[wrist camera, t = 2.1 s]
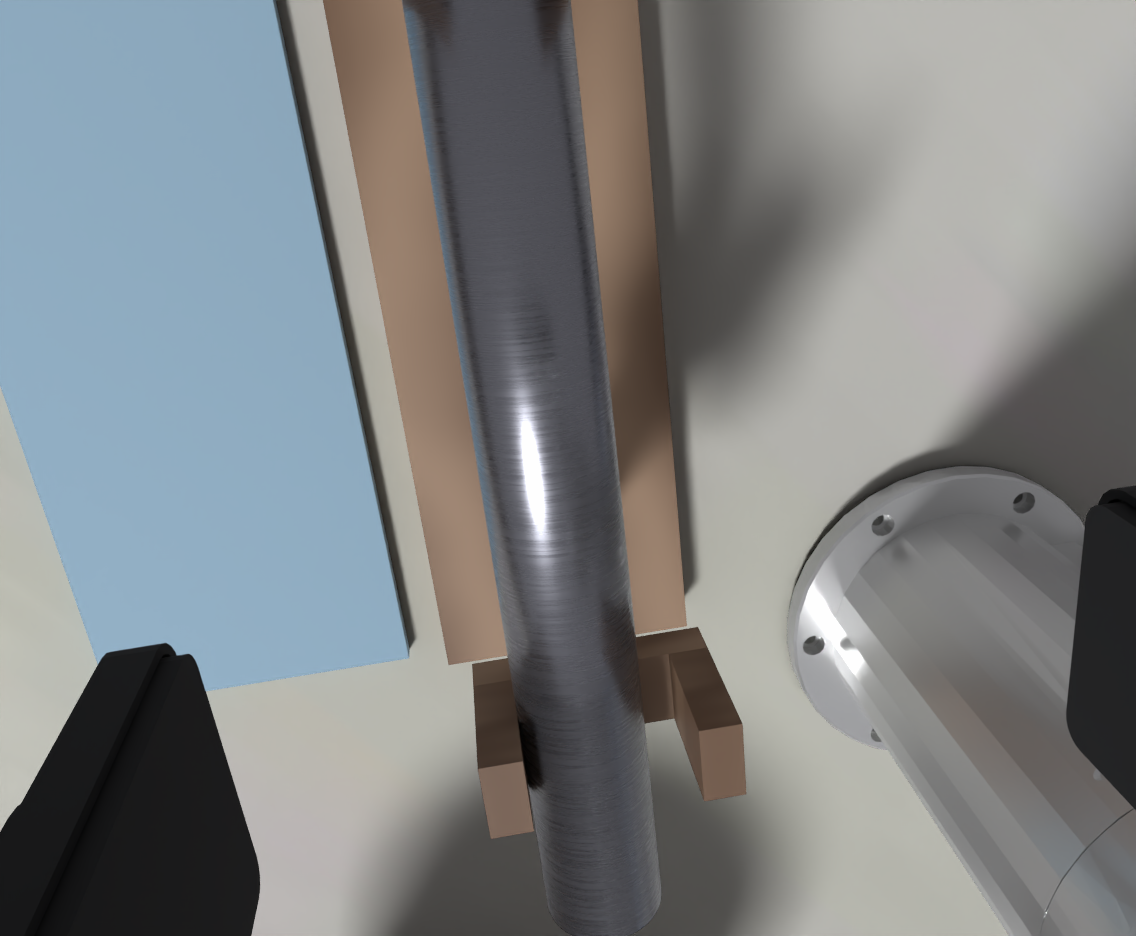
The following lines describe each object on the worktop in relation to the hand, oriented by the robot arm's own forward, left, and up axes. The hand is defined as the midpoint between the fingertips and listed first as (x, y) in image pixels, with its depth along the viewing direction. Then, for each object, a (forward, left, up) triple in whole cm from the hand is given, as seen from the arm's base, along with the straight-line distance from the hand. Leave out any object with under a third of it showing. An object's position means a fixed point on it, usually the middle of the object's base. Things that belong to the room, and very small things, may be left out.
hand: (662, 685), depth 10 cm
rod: (0, 0, -13) cm, 13 cm away
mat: (+11, -2, -25) cm, 27 cm away
